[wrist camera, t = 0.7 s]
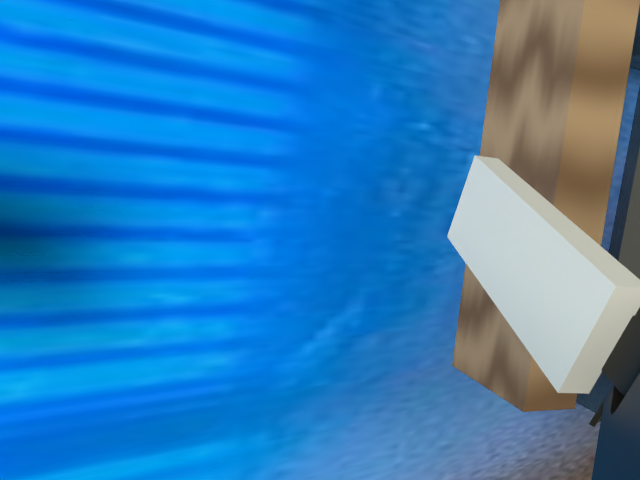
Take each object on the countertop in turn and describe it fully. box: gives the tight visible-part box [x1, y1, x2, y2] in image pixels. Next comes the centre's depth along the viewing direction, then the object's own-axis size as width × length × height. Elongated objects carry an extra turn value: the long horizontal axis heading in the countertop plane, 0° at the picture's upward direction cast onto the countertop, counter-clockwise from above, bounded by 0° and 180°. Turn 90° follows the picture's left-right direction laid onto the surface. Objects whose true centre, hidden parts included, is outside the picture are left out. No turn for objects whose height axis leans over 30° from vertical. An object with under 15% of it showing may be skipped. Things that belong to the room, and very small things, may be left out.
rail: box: [452, 0, 640, 412], centre depth 35 cm, size 28×4×8 cm, turn 174°
